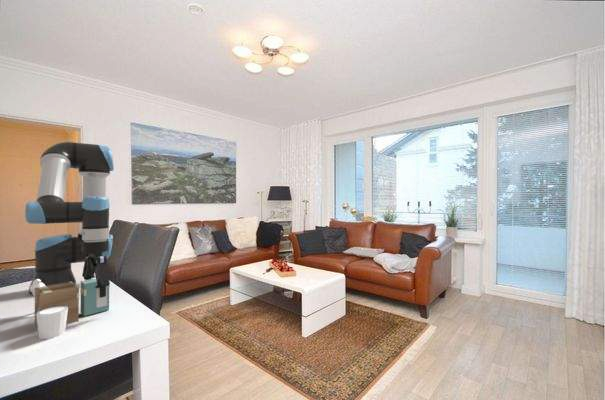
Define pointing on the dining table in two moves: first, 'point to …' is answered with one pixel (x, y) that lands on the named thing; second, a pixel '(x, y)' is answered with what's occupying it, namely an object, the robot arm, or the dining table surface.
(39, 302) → the cardboard box
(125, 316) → the dining table surface
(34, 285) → the figurine
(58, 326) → the shot glass
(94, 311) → the block
